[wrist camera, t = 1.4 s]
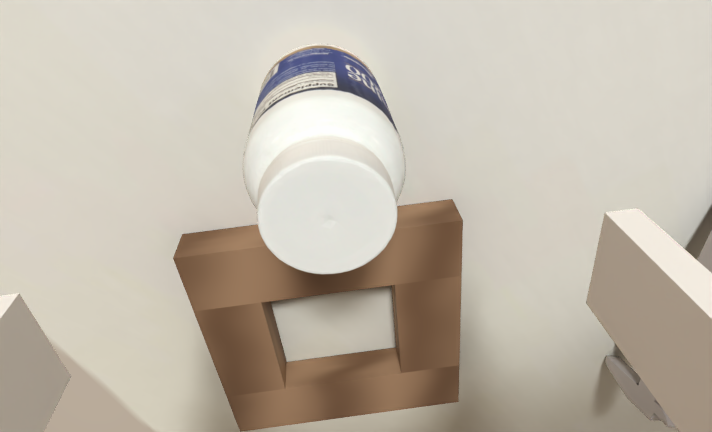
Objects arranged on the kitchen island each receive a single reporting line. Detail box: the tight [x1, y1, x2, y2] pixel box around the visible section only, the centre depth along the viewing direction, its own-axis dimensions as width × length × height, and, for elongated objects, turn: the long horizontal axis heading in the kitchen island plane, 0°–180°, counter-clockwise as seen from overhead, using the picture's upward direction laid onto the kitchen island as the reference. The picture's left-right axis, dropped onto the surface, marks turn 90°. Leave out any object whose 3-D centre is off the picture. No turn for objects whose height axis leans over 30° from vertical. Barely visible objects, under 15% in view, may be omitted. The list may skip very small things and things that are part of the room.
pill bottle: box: [243, 44, 406, 274], centre depth 18 cm, size 5×5×10 cm
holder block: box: [173, 199, 463, 432], centre depth 28 cm, size 14×14×2 cm
